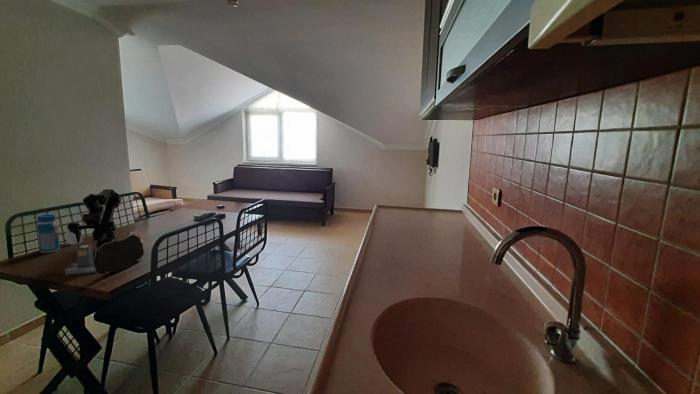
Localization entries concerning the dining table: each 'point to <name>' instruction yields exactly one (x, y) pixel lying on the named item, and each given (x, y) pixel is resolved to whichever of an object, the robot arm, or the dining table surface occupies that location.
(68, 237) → the white angled block
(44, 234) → the beverage bottle
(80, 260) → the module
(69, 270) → the din rail
